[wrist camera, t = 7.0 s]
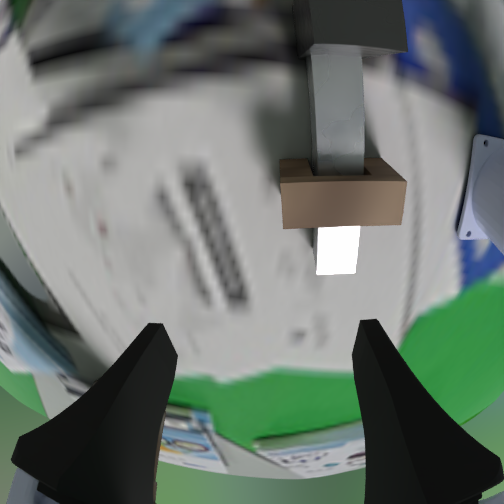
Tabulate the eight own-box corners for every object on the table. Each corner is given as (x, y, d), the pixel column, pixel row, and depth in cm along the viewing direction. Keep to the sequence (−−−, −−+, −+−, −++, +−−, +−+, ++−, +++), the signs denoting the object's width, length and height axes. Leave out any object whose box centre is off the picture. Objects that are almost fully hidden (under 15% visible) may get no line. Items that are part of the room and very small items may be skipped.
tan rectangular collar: (381, 158, 15) (407, 181, 12) (378, 194, 17) (401, 225, 13) (279, 159, 16) (280, 183, 13) (282, 196, 18) (283, 228, 14)
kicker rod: (355, -36, 9) (397, -85, 3) (363, 248, 19) (391, 323, 13) (270, -39, 9) (265, -99, 3) (295, 251, 20) (300, 330, 14)
